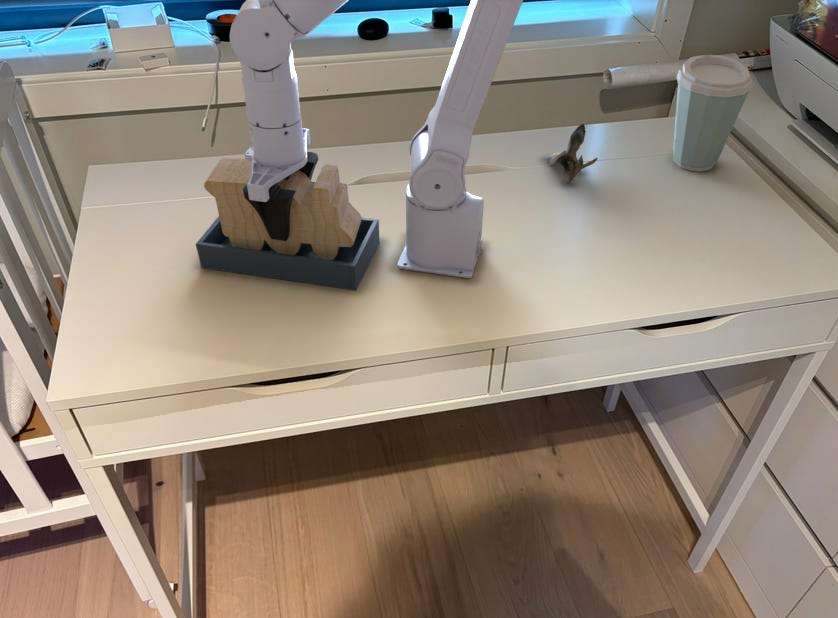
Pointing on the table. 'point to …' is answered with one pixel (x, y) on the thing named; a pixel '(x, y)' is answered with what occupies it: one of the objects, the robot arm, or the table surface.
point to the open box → (292, 258)
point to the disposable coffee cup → (707, 108)
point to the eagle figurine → (571, 155)
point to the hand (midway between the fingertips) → (289, 224)
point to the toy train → (309, 214)
